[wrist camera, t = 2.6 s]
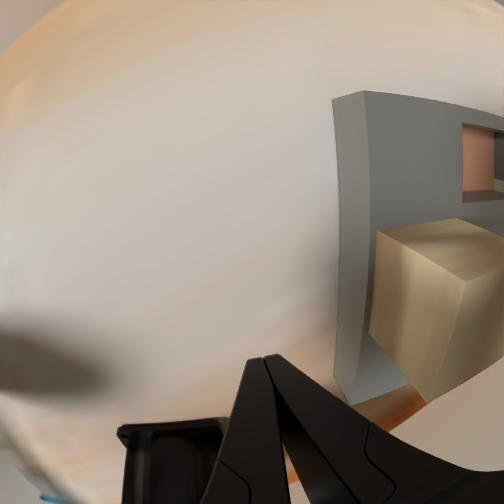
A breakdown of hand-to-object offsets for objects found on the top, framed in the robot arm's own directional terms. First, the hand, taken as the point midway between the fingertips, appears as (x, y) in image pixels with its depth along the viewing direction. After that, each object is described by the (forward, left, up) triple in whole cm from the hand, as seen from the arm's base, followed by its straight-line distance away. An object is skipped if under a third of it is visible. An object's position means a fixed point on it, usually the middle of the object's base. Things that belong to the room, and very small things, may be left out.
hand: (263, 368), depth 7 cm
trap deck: (+13, 0, -5) cm, 14 cm away
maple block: (+7, 0, -3) cm, 8 cm away
